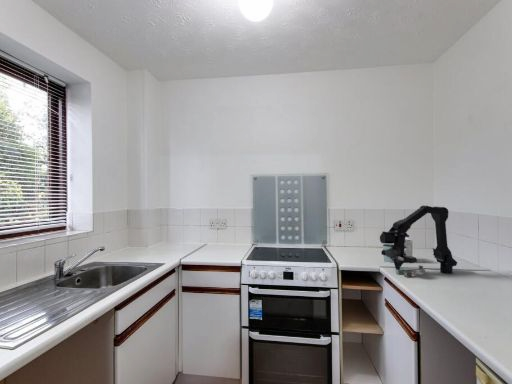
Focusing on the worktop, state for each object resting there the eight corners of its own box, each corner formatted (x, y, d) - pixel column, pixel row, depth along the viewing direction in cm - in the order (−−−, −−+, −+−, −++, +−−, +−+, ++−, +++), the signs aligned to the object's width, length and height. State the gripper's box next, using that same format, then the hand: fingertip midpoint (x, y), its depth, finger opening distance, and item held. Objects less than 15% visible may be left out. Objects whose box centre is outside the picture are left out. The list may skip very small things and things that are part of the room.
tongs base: (405, 269, 157) (405, 260, 157) (435, 278, 140) (435, 268, 140) (385, 273, 149) (384, 264, 149) (414, 283, 133) (414, 273, 133)
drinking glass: (402, 264, 167) (402, 246, 167) (391, 265, 164) (391, 247, 164) (389, 260, 177) (389, 243, 177) (379, 261, 173) (378, 244, 173)
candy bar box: (396, 259, 178) (396, 236, 178) (403, 259, 178) (403, 236, 178) (405, 264, 167) (405, 239, 167) (412, 264, 167) (412, 239, 167)
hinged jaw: (417, 272, 146) (417, 267, 146) (419, 273, 145) (419, 268, 145) (396, 273, 144) (396, 269, 144) (398, 274, 142) (398, 270, 142)
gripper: (375, 240, 150) (373, 266, 150) (404, 248, 133) (402, 277, 133) (388, 240, 154) (387, 265, 155) (418, 247, 137) (416, 275, 138)
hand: (397, 270), depth 145 cm, fingers closed
